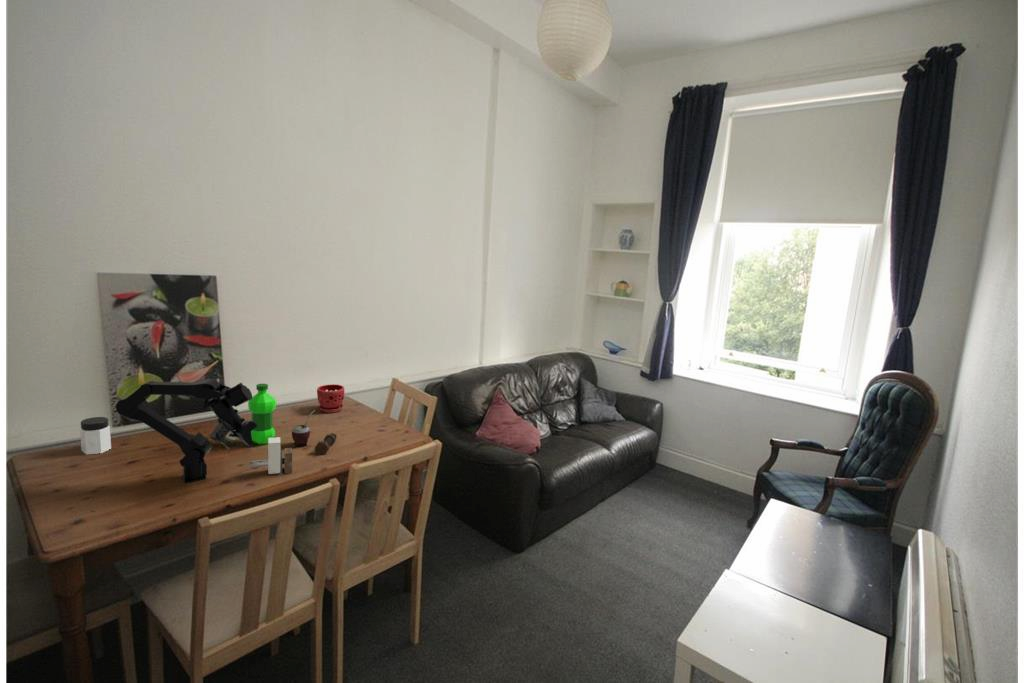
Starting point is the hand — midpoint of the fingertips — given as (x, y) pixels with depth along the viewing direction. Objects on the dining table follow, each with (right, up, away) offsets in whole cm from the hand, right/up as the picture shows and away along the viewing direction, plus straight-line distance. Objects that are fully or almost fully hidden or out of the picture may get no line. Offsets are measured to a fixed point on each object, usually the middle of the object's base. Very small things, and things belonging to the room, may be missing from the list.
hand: (250, 445), depth 185 cm
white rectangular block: (+6, -11, +5) cm, 14 cm away
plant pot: (+2, +3, +75) cm, 75 cm away
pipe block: (+9, -11, +7) cm, 16 cm away
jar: (-64, -4, +10) cm, 65 cm away
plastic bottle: (-11, -5, +30) cm, 33 cm away
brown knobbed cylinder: (+17, -7, +31) cm, 36 cm away
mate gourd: (+6, -6, +31) cm, 32 cm away
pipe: (+4, -8, +4) cm, 10 cm away
